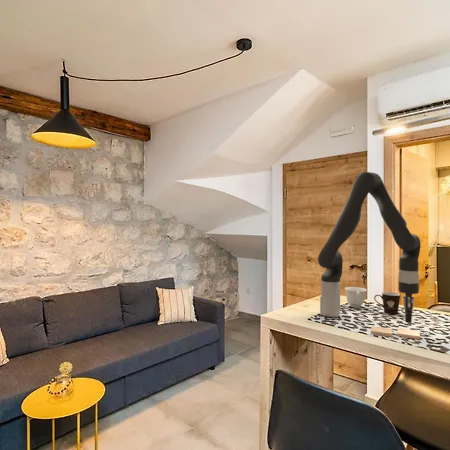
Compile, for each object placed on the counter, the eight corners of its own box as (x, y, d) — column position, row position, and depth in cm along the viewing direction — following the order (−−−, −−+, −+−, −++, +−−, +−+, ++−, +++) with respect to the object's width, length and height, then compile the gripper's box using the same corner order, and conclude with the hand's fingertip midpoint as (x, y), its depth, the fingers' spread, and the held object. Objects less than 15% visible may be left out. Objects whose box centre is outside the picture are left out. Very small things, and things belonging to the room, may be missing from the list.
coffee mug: (403, 313, 168) (403, 294, 168) (395, 316, 163) (395, 296, 163) (381, 308, 177) (381, 290, 177) (373, 310, 172) (373, 292, 172)
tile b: (397, 332, 139) (397, 337, 133) (397, 328, 139) (397, 333, 133) (419, 335, 136) (420, 340, 129) (419, 331, 136) (420, 336, 129)
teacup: (346, 309, 174) (346, 291, 174) (342, 303, 189) (342, 286, 189) (370, 311, 172) (370, 292, 172) (364, 304, 186) (365, 287, 186)
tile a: (371, 330, 142) (370, 334, 136) (371, 326, 142) (370, 330, 136) (392, 332, 139) (392, 337, 132) (392, 328, 139) (392, 333, 132)
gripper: (398, 278, 143) (398, 317, 143) (398, 282, 131) (398, 325, 131) (417, 279, 140) (417, 319, 140) (420, 284, 128) (419, 328, 128)
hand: (408, 322), depth 135 cm, fingers closed
